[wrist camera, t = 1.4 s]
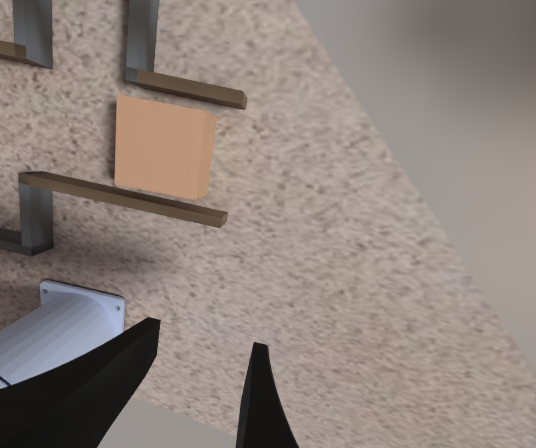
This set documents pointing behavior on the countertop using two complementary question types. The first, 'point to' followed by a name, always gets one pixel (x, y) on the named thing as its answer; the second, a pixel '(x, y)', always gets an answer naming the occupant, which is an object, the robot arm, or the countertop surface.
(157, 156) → the light orange-tan block
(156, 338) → the robot arm
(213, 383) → the countertop surface
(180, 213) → the box
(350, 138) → the countertop surface
